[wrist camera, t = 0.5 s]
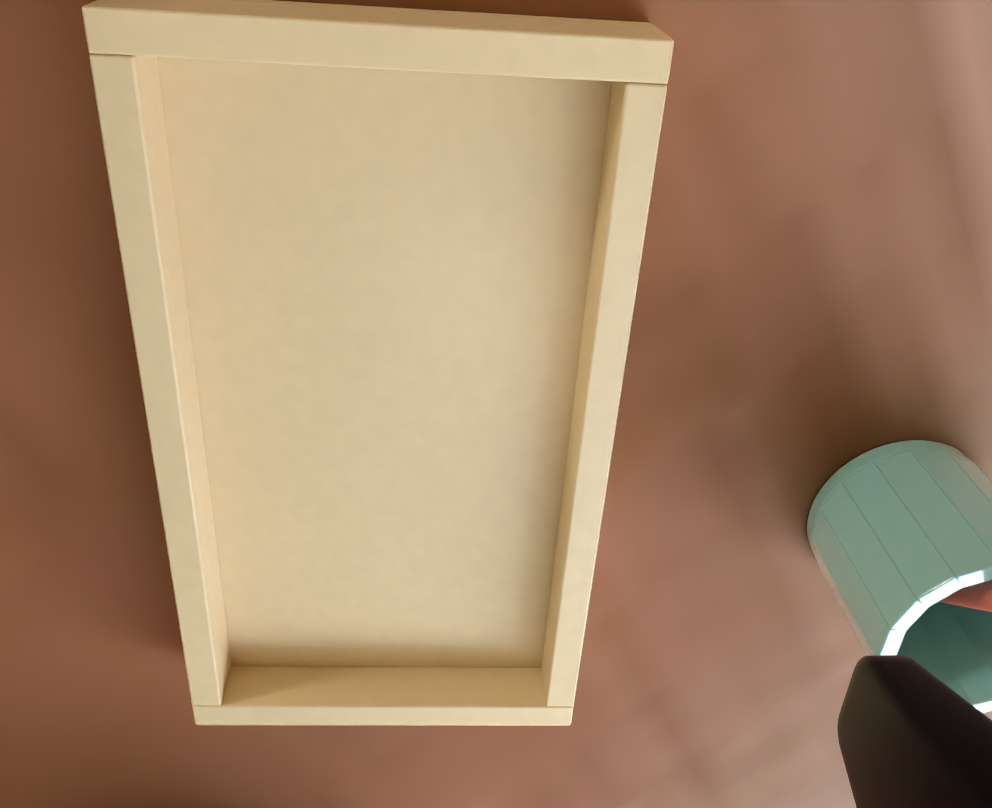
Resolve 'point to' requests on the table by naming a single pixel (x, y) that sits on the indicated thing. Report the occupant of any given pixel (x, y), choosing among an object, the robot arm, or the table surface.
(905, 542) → the cup
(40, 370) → the table surface
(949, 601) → the red thin rounded piece
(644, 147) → the tray
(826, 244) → the table surface
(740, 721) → the table surface
